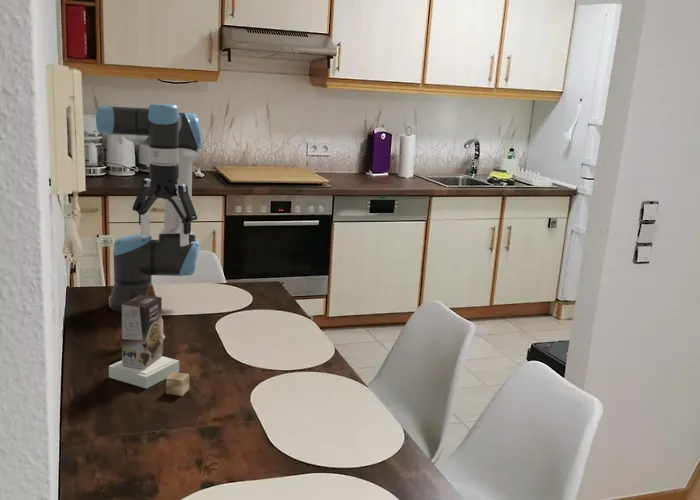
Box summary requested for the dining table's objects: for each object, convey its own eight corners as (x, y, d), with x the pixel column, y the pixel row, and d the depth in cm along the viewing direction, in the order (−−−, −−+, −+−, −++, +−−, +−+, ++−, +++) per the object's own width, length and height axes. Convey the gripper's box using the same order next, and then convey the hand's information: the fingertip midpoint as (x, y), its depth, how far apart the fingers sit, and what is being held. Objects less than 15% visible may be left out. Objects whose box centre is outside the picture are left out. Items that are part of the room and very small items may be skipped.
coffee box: (145, 369, 163) (144, 307, 160) (121, 366, 165) (120, 304, 161) (163, 356, 172) (162, 296, 168) (140, 353, 173) (139, 293, 170)
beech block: (166, 393, 159) (166, 378, 158) (173, 387, 163) (173, 371, 162) (182, 396, 158) (182, 380, 157) (189, 389, 162) (189, 373, 161)
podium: (109, 377, 166) (108, 365, 165) (143, 361, 176) (142, 349, 175) (146, 388, 161) (146, 376, 160) (179, 371, 171) (179, 359, 171)
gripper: (117, 159, 178) (119, 236, 184) (192, 170, 168) (192, 251, 173) (137, 157, 185) (139, 231, 190) (211, 167, 175) (210, 246, 180)
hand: (164, 241), depth 182 cm, fingers open, 13 cm apart
